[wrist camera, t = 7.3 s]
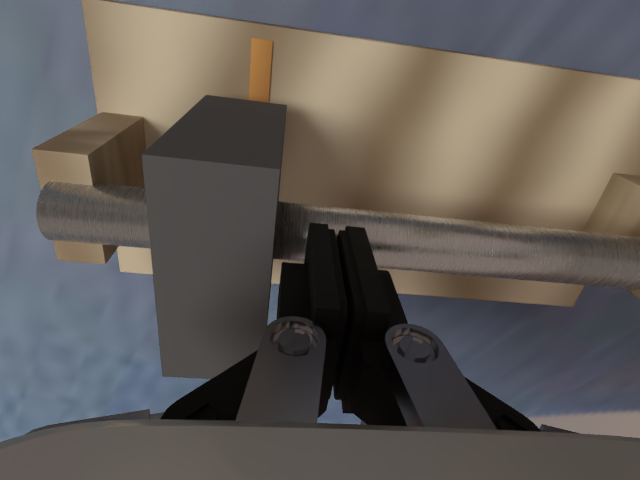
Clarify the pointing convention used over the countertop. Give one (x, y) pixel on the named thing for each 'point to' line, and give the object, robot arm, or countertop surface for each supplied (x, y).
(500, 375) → the countertop surface
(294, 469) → the robot arm
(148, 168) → the collar
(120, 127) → the pipe stand
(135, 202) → the pipe
